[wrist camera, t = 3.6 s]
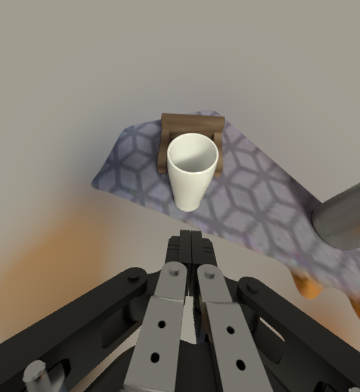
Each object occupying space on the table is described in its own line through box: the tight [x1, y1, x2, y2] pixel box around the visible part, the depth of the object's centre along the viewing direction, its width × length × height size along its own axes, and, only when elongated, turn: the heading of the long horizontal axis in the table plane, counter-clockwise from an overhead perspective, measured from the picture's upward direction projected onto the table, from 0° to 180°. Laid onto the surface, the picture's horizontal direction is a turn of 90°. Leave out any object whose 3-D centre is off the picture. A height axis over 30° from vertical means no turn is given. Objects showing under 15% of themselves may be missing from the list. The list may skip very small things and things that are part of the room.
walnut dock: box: [157, 113, 225, 177], centre depth 39 cm, size 11×13×6 cm
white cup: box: [167, 133, 219, 212], centre depth 30 cm, size 7×7×15 cm
